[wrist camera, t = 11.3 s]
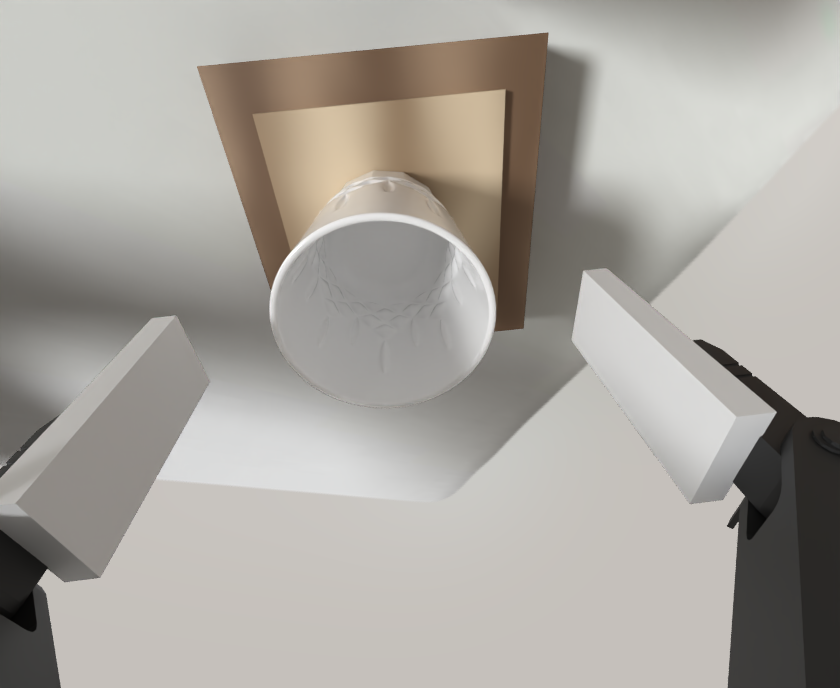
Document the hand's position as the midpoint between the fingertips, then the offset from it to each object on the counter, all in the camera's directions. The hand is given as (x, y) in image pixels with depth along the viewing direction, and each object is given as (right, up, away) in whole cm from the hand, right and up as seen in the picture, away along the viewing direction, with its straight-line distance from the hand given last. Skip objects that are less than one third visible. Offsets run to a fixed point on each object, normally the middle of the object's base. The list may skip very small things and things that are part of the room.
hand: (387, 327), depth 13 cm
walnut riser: (-1, +9, +12) cm, 15 cm away
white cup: (-1, +6, +9) cm, 11 cm away
